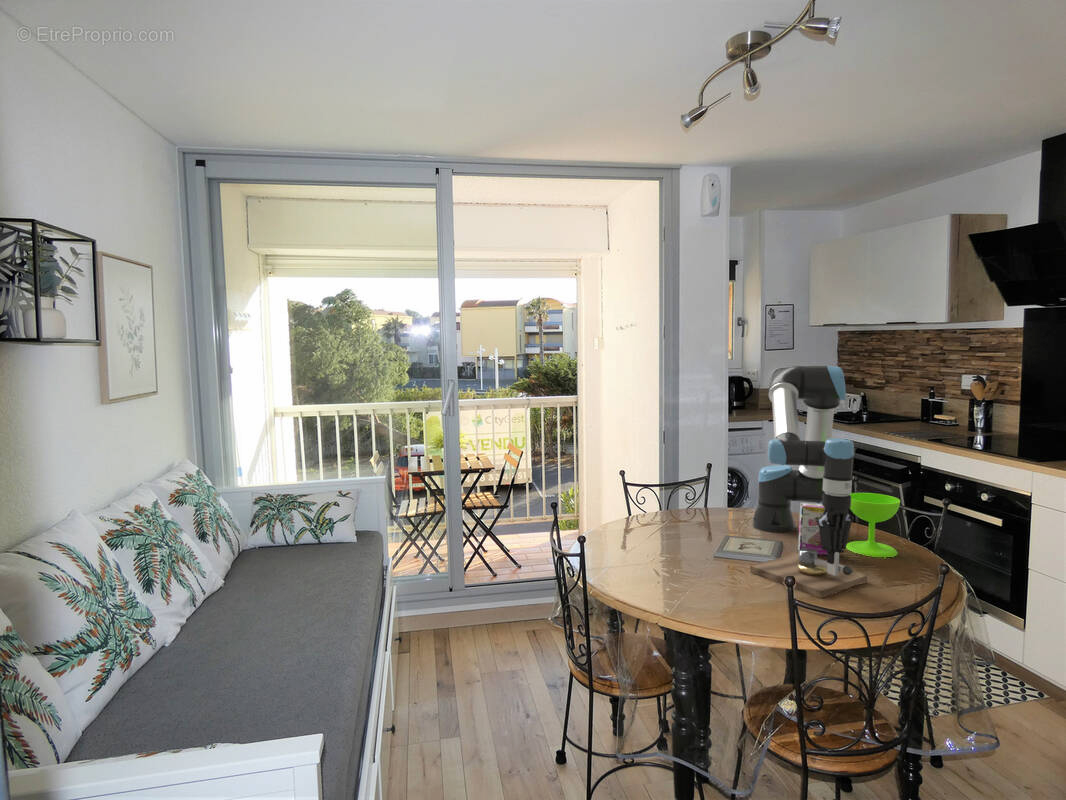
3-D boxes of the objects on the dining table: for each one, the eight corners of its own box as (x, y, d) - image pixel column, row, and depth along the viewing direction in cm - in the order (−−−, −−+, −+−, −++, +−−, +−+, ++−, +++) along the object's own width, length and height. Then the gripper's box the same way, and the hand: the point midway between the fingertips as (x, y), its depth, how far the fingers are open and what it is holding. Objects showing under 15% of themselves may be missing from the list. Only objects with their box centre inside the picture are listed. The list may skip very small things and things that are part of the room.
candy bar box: (799, 554, 216) (801, 505, 214) (797, 549, 220) (799, 502, 219) (836, 557, 213) (838, 508, 211) (833, 552, 217) (835, 504, 216)
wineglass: (848, 540, 230) (850, 490, 229) (900, 548, 221) (902, 496, 220) (840, 552, 217) (842, 499, 216) (895, 561, 208) (897, 506, 207)
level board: (750, 572, 199) (750, 565, 199) (796, 558, 211) (796, 552, 211) (820, 598, 179) (821, 590, 179) (867, 581, 191) (867, 574, 190)
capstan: (792, 569, 194) (793, 551, 194) (806, 564, 199) (807, 546, 198) (844, 585, 182) (845, 566, 181) (858, 579, 186) (859, 560, 186)
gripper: (832, 498, 179) (828, 581, 181) (863, 494, 184) (859, 574, 186) (810, 492, 185) (806, 573, 187) (840, 488, 191) (836, 566, 193)
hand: (832, 573), depth 187 cm, fingers closed
